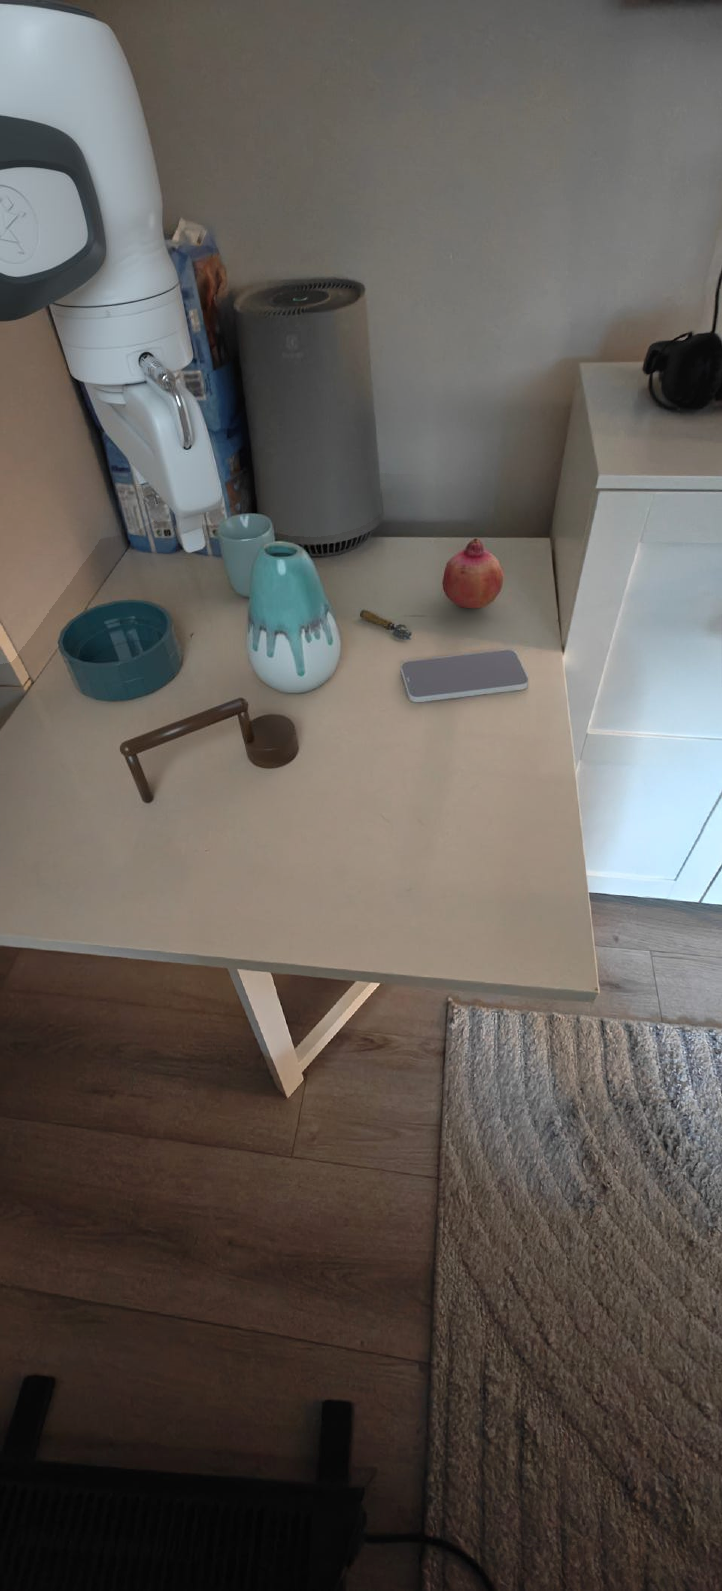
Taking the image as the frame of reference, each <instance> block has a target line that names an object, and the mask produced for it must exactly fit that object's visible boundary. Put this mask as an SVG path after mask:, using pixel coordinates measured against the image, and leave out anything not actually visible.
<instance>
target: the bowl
mask: <svg viewBox="0 0 722 1591" xmlns="http://www.w3.org/2000/svg"><path fill="white" fill-rule="evenodd" d="M57 646H58V650H59V654H60V656H61V658H62V660H63V663H64V665H65V667H66V669H67V672H68V674H69V676H70V678H71V681H72V682H73V685H74V687H75V688H76V690H78V691H79V692H80V693H81V694H82V695H84V696H86V697H89V698H91V699H93V700H96V701H103V702H104V701H105V702H119V701H128V700H132V699H136V698H140V697H143V696H146V695H149V694H152V693H153V692H156V690H158V689H161V688H163V687H164V686H165V685H167V684H168V683H169V682H170V681H171V680H172V679H173V678H174V677H175V676H176V675H177V673H178V671H179V670H180V668H181V666H182V662H183V653H182V649H181V647H180V646H181V645H180V642H179V638H178V635H177V631H176V628H175V624H174V622H173V619H172V616H171V615H170V612H169V611H168V610H167V609H166V608H165V607H163V606H162V605H160V604H158V603H155V602H152V601H149V600H143V599H142V600H141V599H132V598H131V599H121V600H113V601H109V602H106V603H102V604H97V605H95V606H93V607H90V608H88V609H86V610H84V611H82V612H80V613H79V614H77V615H76V616H75V617H73V618H72V619H70V620H69V621H68V622H67V623H66V624H65V626H64V627H63V628H62V629H61V630H60V633H59V636H58V639H57Z"/></svg>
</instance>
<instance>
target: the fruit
mask: <svg viewBox="0 0 722 1591" xmlns="http://www.w3.org/2000/svg"><path fill="white" fill-rule="evenodd" d="M441 584H442V591H443V592H444V594H445V596H446V597H447V599H449V600H450V601H451V602H452V603H453V604H454V605H457V606H458V607H461V608H466V609H482V608H485V607H487V606H489V605H490V604H492V603H493V602H494V600H495V599H496V598H497V597H498V595H499V594H500V593H501V590H502V587H503V584H504V570H503V568H502V564H501V563H500V561H499V560H498V558H496V556H494V555H493V554H492V553H491V552H490V551H488V550H486V549H485V548H484V544H483V542H482V541H481V540H480V538H474V539H472V540H470V541H468V544H466V547H465V549H462V550H461V551H459V552H456V553H454V555H453V556H452V557H451V558H450V559H449V560H448V561H447V562H446V564H445V569H444V571H443V577H442V583H441Z"/></svg>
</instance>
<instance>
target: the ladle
mask: <svg viewBox="0 0 722 1591" xmlns="http://www.w3.org/2000/svg"><path fill="white" fill-rule="evenodd" d="M249 706H250V704H249V701H248V700H247V699H246V698H244V697H238V698H236V699H235V698H234V699H232V700H229V701H227V702H224V703H222V704H219V705H216V706H214V707H211V708H209V709H206V710H204V711H201V712H198V713H196V714H193V715H190V716H188V717H185V718H183V719H180V720H177V721H175V722H172V723H169V724H166V725H164V726H162V727H159V728H157V729H154V730H151V731H148V732H146V733H143V734H140V735H138V736H135V737H132V738H130V739H127V740H124V741H123V742H122V743H121V744H119V752H120V754H121V755H123V756H124V759H125V761H126V764H127V766H128V769H129V771H130V774H131V776H132V778H133V781H134V783H135V786H136V788H137V790H138V794H139V795H140V798H141V800H142V802H143V803H144V804H150V803H152V802H153V800H154V795H153V792H152V790H151V787H150V785H149V783H148V780H147V777H146V775H145V772H144V770H143V767H142V765H141V761H140V760H139V757H138V754H140V753H143V752H146V751H149V750H150V749H153V748H156V747H158V746H162V745H163V744H166V743H169V742H171V741H174V740H176V739H178V738H181V737H184V736H187V735H189V734H191V733H194V732H197V731H200V730H202V729H205V728H206V727H210V726H213V725H215V724H218V723H220V722H223V721H225V720H227V719H230V718H233V717H236V716H237V719H238V723H239V727H240V730H241V735H242V739H243V743H244V749H245V752H246V755H247V759H248V760H249V762H250V763H251V764H253V765H254V766H256V767H258V768H262V769H269V770H270V769H278V768H281V767H284V766H286V765H288V764H290V763H291V762H292V761H293V760H294V759H295V758H296V757H297V755H298V752H299V749H300V747H299V741H298V734H297V729H296V725H295V723H294V721H293V719H290V718H289V717H288V716H285V715H283V714H278V713H269V714H263V715H259V716H257V717H255V718H253V719H251V717H250V713H249Z"/></svg>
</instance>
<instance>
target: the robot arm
mask: <svg viewBox="0 0 722 1591" xmlns="http://www.w3.org/2000/svg"><path fill="white" fill-rule="evenodd" d="M128 62H129V61H128V59H127V57H126V55H125V53H124V50H123V47H122V46H121V44H120V43H119V40H118V38H117V35H116V34H115V32H114V31H113V30H112V28H111V27H110V26H109V25H108V24H107V23H105V22H104V21H103V20H102V19H101V18H100V17H98V16H97V15H96V14H95V13H94V12H92V11H90V10H88V9H86V8H83V7H81V6H78V5H74V4H71V3H67V2H64V1H59V0H0V323H5V322H13V321H17V320H21V319H24V318H26V317H28V316H30V315H33V314H35V313H37V312H39V311H40V310H43V309H44V308H47V307H48V306H49V309H50V313H51V316H52V320H53V322H54V325H55V328H56V332H57V335H58V339H59V340H60V344H61V348H62V351H63V354H64V356H65V360H66V363H67V366H68V370H69V373H70V375H71V376H72V377H73V378H74V379H76V380H77V381H79V382H82V383H83V384H84V388H85V390H86V392H87V394H88V397H89V399H90V402H91V405H92V407H93V410H94V412H95V415H96V416H97V419H98V422H99V424H100V425H101V427H102V429H103V431H104V432H105V434H106V435H107V437H108V438H109V439H110V440H111V441H112V443H113V444H114V445H115V446H116V447H117V449H118V450H120V452H121V453H122V454H123V455H124V456H125V457H126V459H127V461H128V463H129V466H130V468H131V471H132V472H133V474H134V477H135V479H136V481H137V483H138V486H139V490H140V494H141V497H142V499H143V500H144V502H145V503H146V504H147V505H148V506H149V507H152V508H154V507H157V506H159V505H160V506H162V505H166V506H167V507H168V508H169V509H170V510H171V512H172V513H173V515H174V519H175V523H176V524H175V525H174V530H175V533H176V536H177V541H178V543H179V544H180V546H181V547H182V549H183V550H184V551H185V552H186V553H189V554H191V553H193V552H197V551H201V550H203V549H204V548H205V547H206V543H207V542H206V538H205V533H204V530H203V526H204V516H205V515H204V514H207V513H209V512H213V511H215V510H217V509H220V507H221V504H222V500H223V489H222V484H221V481H220V476H219V471H218V467H217V462H216V459H215V454H214V450H213V446H212V443H211V437H210V435H209V434H210V433H209V431H208V427H207V424H206V420H205V418H204V415H203V411H202V408H201V407H200V404H199V402H198V400H197V398H196V396H194V395H193V393H192V392H191V391H190V390H189V389H188V388H186V387H185V386H184V385H183V382H182V377H181V373H180V371H181V370H183V369H185V368H186V367H187V366H189V364H191V363H192V361H193V359H194V350H193V346H192V341H191V335H190V331H189V325H188V320H187V315H186V310H185V305H184V299H183V295H182V291H181V285H180V280H179V276H178V271H177V269H176V266H175V264H174V262H173V260H172V258H171V255H170V253H169V250H168V248H167V244H166V240H165V236H164V227H163V210H164V209H163V208H164V206H163V205H164V202H163V195H162V190H161V184H160V179H159V175H158V169H157V164H156V160H155V155H154V151H153V150H154V149H153V147H152V146H153V145H152V142H151V138H150V133H149V129H148V125H147V121H146V118H145V113H144V109H143V106H142V102H141V98H140V95H139V91H138V89H137V85H136V82H135V80H134V76H133V73H132V70H131V68H130V64H129V63H128Z"/></svg>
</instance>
